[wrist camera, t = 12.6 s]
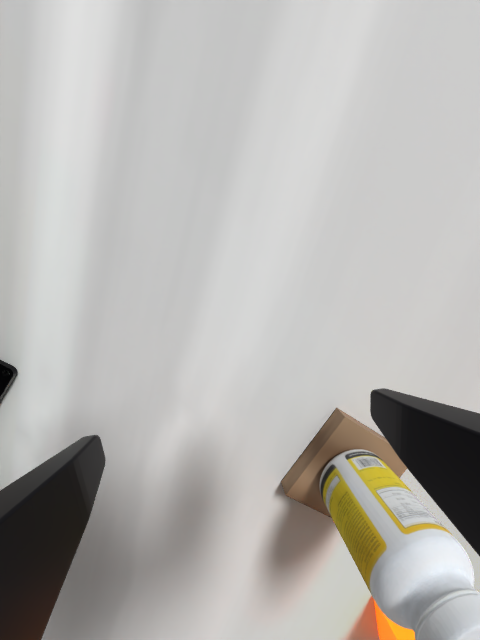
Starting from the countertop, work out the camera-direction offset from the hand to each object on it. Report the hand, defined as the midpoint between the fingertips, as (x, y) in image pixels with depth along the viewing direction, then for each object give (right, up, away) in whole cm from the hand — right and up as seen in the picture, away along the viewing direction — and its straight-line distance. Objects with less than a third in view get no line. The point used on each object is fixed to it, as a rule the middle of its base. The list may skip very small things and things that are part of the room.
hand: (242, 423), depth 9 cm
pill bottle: (+10, -11, +16) cm, 22 cm away
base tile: (+10, -11, +17) cm, 23 cm away
